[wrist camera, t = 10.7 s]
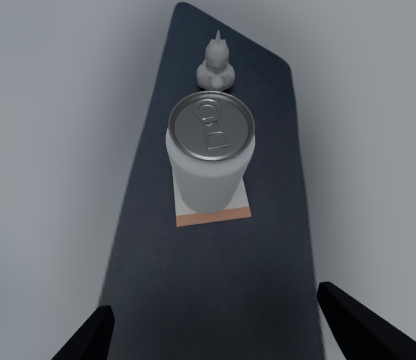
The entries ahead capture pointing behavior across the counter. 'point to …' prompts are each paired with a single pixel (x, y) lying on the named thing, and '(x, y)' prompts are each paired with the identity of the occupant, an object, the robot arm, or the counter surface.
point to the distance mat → (231, 211)
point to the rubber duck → (216, 67)
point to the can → (209, 148)
